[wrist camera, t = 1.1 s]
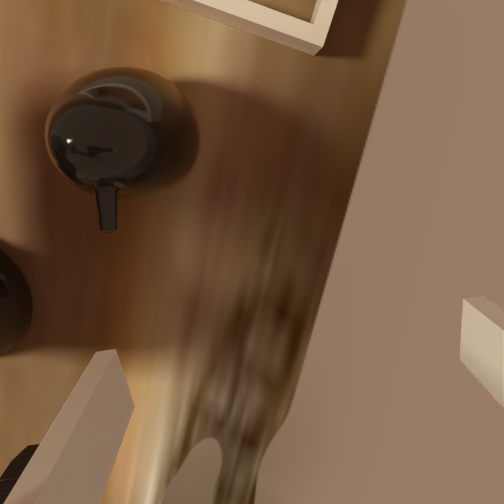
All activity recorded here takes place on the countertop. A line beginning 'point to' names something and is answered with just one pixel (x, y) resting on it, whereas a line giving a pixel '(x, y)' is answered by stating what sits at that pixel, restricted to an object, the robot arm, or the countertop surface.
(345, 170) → the countertop surface
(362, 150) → the countertop surface
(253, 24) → the box
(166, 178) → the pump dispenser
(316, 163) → the countertop surface
